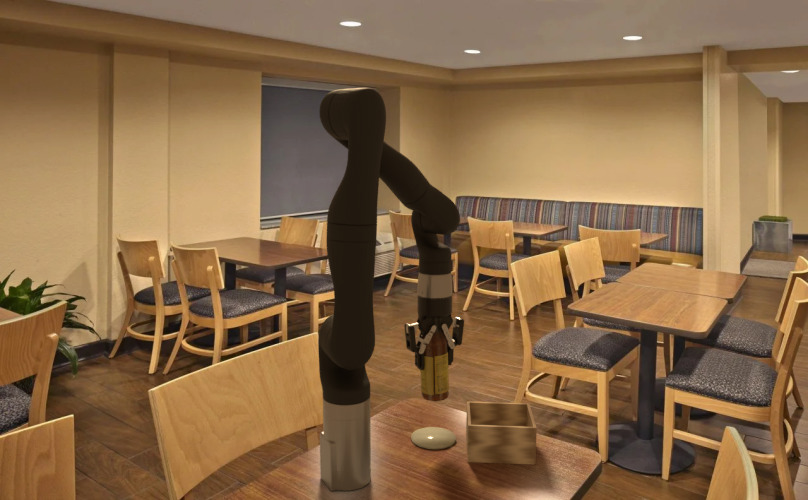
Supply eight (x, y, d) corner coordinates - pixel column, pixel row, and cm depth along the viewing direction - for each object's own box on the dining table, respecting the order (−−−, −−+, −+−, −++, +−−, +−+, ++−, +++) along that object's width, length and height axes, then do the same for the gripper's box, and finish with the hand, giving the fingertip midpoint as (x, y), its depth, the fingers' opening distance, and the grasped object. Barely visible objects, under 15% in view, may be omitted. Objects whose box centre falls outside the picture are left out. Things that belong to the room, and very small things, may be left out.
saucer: (424, 453, 139) (424, 450, 139) (403, 434, 148) (403, 432, 148) (464, 443, 144) (464, 441, 143) (441, 426, 152) (441, 424, 152)
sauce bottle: (449, 392, 147) (450, 307, 144) (448, 403, 141) (449, 314, 138) (420, 391, 147) (421, 306, 144) (418, 401, 141) (418, 313, 138)
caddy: (467, 461, 135) (468, 425, 134) (466, 434, 148) (466, 401, 147) (535, 464, 134) (536, 428, 133) (528, 436, 147) (529, 403, 146)
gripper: (413, 299, 134) (413, 377, 136) (472, 292, 140) (471, 366, 143) (397, 292, 140) (397, 366, 143) (454, 286, 147) (453, 357, 149)
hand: (434, 366), depth 143 cm, fingers closed on sauce bottle, 6 cm apart
